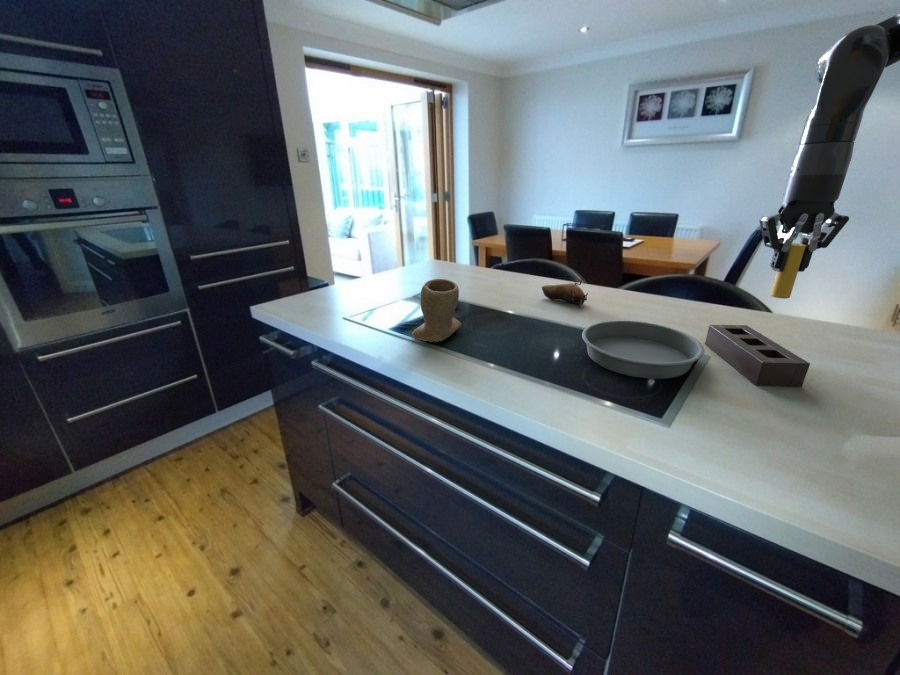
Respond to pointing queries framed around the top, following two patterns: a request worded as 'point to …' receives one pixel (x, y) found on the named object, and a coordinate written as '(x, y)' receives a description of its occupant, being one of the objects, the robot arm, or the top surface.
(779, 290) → the peg
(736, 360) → the stand
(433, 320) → the stone cup
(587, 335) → the cake pan
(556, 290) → the vegetable
